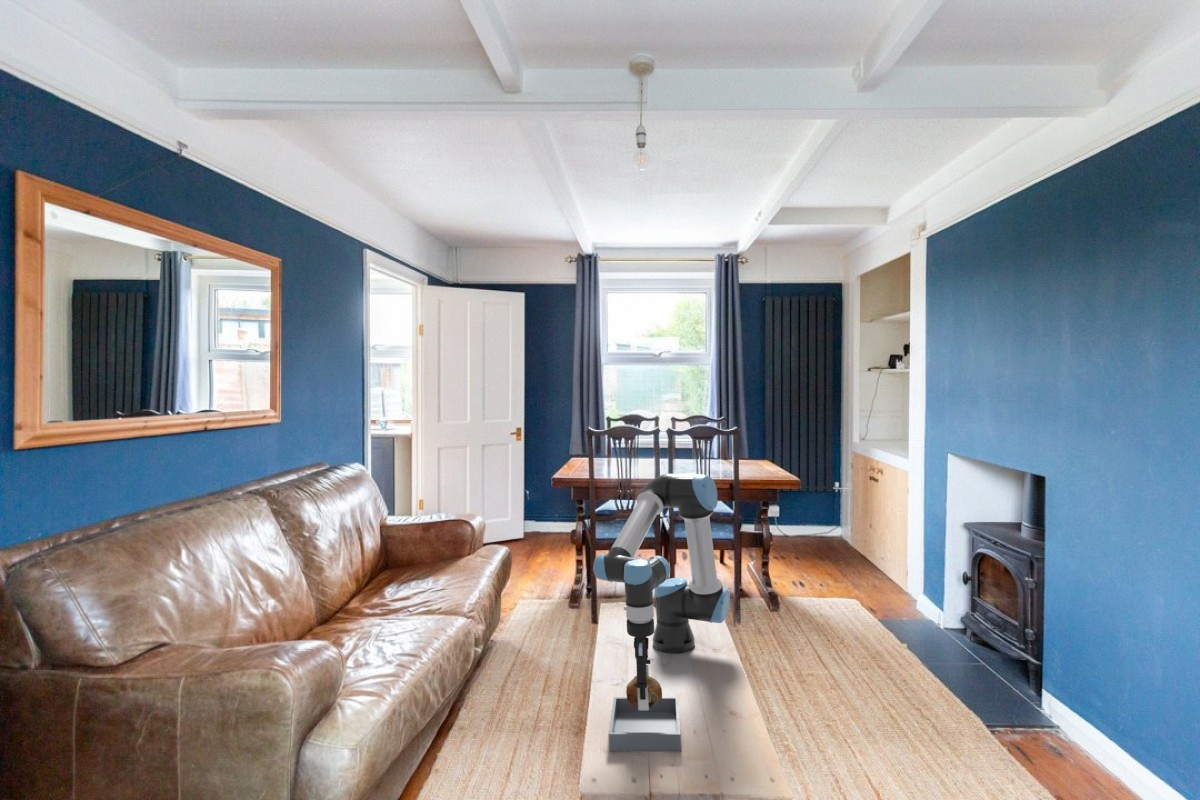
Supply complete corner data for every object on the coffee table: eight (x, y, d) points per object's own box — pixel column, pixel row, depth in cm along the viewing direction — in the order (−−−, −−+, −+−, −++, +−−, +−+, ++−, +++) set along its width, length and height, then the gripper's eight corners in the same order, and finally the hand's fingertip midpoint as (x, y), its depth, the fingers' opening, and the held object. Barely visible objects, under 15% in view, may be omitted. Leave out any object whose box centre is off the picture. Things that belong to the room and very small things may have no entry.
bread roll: (665, 708, 165) (666, 677, 168) (656, 710, 156) (658, 677, 159) (630, 704, 168) (632, 673, 171) (620, 706, 159) (622, 673, 162)
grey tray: (614, 712, 174) (613, 697, 174) (678, 712, 172) (678, 696, 172) (609, 751, 155) (608, 734, 155) (681, 751, 153) (680, 734, 153)
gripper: (628, 603, 175) (632, 678, 175) (623, 636, 152) (628, 722, 152) (654, 603, 174) (657, 678, 174) (653, 635, 151) (657, 722, 151)
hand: (644, 698), depth 163 cm, fingers closed on bread roll, 10 cm apart
